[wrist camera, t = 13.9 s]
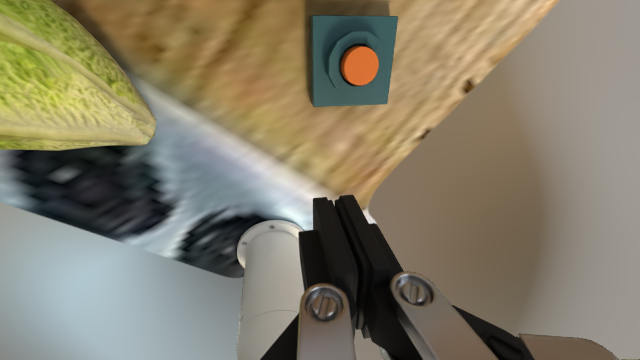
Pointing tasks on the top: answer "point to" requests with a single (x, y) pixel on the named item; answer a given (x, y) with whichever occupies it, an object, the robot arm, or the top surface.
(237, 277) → the top surface
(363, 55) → the button
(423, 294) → the robot arm
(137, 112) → the lettuce
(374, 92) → the control block
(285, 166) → the top surface
